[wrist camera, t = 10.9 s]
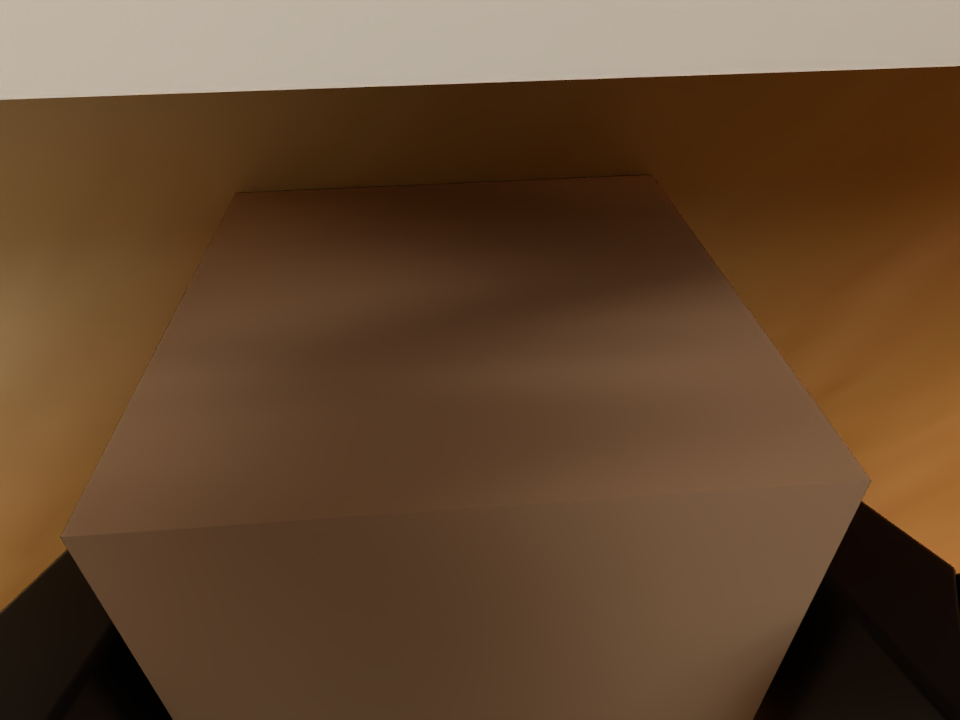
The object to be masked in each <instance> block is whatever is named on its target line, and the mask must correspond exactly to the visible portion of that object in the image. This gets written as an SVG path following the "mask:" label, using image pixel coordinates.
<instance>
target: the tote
mask: <svg viewBox="0 0 960 720" xmlns="http://www.w3.org/2000/svg"><path fill="white" fill-rule="evenodd" d="M949 66H960V0H0V100H9V99H37V98H66V97H94V96H123V95H151V94H180V93H208V92H237V91H265V90H294V89H322V88H351V87H379V86H408V85H436V84H465V83H493V82H522V81H550V80H578V79H607V78H635V77H664V76H692V75H721V74H749V73H778V72H806V71H835V70H863V69H892V68H920V67H949Z"/></svg>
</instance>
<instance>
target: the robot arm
mask: <svg viewBox="0 0 960 720" xmlns="http://www.w3.org/2000/svg"><path fill="white" fill-rule="evenodd" d="M0 720H173V719H172V717H171V716H170V714H169V712H168V711H167V709H166V708H165V706H164V704H163V703H162V701H161V699H160V698H159V696H158V695H157V693H156V691H155V690H154V688H153V687H152V685H151V683H150V682H149V680H148V678H147V677H146V675H145V674H144V672H143V670H142V669H141V667H140V666H139V664H138V662H137V661H136V659H135V657H134V656H133V654H132V653H131V651H130V649H129V648H128V646H127V644H126V643H125V641H124V640H123V638H122V636H121V635H120V633H119V632H118V630H117V628H116V627H115V625H114V623H113V622H112V620H111V619H110V617H109V615H108V614H107V612H106V611H105V609H104V607H103V606H102V604H101V602H100V601H99V599H98V598H97V596H96V594H95V593H94V591H93V590H92V588H91V586H90V585H89V583H88V581H87V580H86V578H85V577H84V575H83V573H82V572H81V570H80V569H79V567H78V565H77V564H76V562H75V560H74V559H73V557H72V556H71V554H70V552H69V551H68V549H67V550H66V551H65V552H64V553H63V554H62V555H60V556H59V557H58V558H57V559H56V560H55V561H54V562H53V563H52V564H51V565H50V566H49V567H48V568H47V569H46V570H44V571H43V572H42V573H41V574H40V575H39V576H38V577H37V578H36V579H35V580H34V581H33V582H32V583H31V584H30V585H28V586H27V587H26V588H25V589H24V590H23V591H22V592H21V593H20V594H19V595H18V596H17V597H16V598H15V599H14V600H12V601H11V602H10V603H9V604H8V605H7V606H6V607H5V608H4V609H3V610H2V611H1V612H0ZM753 720H960V573H958V574H956V571H955V569H954V567H953V566H951V565H950V564H948V563H947V562H946V561H944V560H943V559H941V558H940V557H939V556H937V555H936V554H934V553H933V552H932V551H930V550H929V549H927V548H926V547H925V546H923V545H922V544H920V543H919V542H918V541H916V540H915V539H914V538H912V537H911V536H909V535H908V534H907V533H905V532H904V531H902V530H901V529H900V528H898V527H897V526H895V525H894V524H893V523H891V522H890V521H888V520H887V519H886V518H884V517H883V516H881V515H880V514H879V513H877V512H876V511H875V510H873V509H872V508H870V507H869V506H868V505H866V504H865V503H863V502H862V501H861V502H860V504H859V507H858V509H857V511H856V513H855V515H854V517H853V519H852V521H851V523H850V525H849V527H848V529H847V531H846V533H845V535H844V537H843V539H842V541H841V543H840V545H839V547H838V549H837V551H836V553H835V555H834V557H833V559H832V561H831V563H830V565H829V567H828V569H827V571H826V573H825V575H824V577H823V579H822V581H821V583H820V585H819V587H818V589H817V591H816V593H815V595H814V597H813V599H812V601H811V603H810V605H809V607H808V609H807V611H806V613H805V615H804V617H803V619H802V621H801V623H800V625H799V627H798V629H797V631H796V633H795V635H794V637H793V639H792V641H791V644H790V646H789V648H788V650H787V652H786V654H785V656H784V658H783V660H782V662H781V664H780V666H779V668H778V670H777V672H776V674H775V676H774V678H773V680H772V682H771V684H770V686H769V688H768V690H767V692H766V694H765V696H764V698H763V700H762V702H761V704H760V706H759V708H758V710H757V712H756V714H755V716H754V718H753Z"/></svg>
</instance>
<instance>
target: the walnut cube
mask: <svg viewBox="0 0 960 720" xmlns="http://www.w3.org/2000/svg"><path fill="white" fill-rule="evenodd" d="M870 482H871V479H870V478H869V476H868V475H867V473H866V472H865V471H864V469H863V468H862V467H861V465H860V464H859V462H858V461H857V460H856V458H855V457H854V455H853V454H852V453H851V451H850V450H849V448H848V447H847V446H846V444H845V443H844V442H843V440H842V439H841V437H840V436H839V435H838V433H837V432H836V430H835V429H834V428H833V426H832V425H831V423H830V422H829V421H828V419H827V418H826V417H825V415H824V414H823V412H822V411H821V410H820V408H819V407H818V405H817V404H816V403H815V401H814V400H813V398H812V397H811V396H810V394H809V393H808V392H807V390H806V389H805V387H804V386H803V385H802V383H801V382H800V380H799V379H798V378H797V376H796V375H795V373H794V372H793V371H792V369H791V368H790V367H789V365H788V364H787V362H786V361H785V360H784V358H783V357H782V355H781V354H780V353H779V351H778V350H777V348H776V347H775V346H774V344H773V343H772V342H771V340H770V339H769V337H768V336H767V335H766V333H765V332H764V330H763V329H762V328H761V326H760V325H759V324H758V322H757V321H756V319H755V318H754V317H753V315H752V314H751V312H750V311H749V310H748V308H747V307H746V305H745V304H744V303H743V301H742V300H741V299H740V297H739V296H738V294H737V293H736V292H735V290H734V289H733V287H732V286H731V285H730V283H729V282H728V280H727V279H726V278H725V276H724V275H723V274H722V272H721V271H720V269H719V268H718V267H717V265H716V264H715V262H714V261H713V260H712V258H711V257H710V255H709V254H708V253H707V251H706V250H705V249H704V247H703V246H702V244H701V243H700V242H699V240H698V239H697V237H696V236H695V235H694V233H693V232H692V230H691V229H690V228H689V226H688V225H687V224H686V222H685V221H684V219H683V218H682V217H681V215H680V214H679V212H678V211H677V210H676V208H675V207H674V205H673V204H672V203H671V201H670V200H669V199H668V197H667V196H666V194H665V193H664V192H663V190H662V189H661V187H660V186H659V185H658V183H657V182H656V180H655V179H654V178H653V176H652V175H635V176H612V177H590V178H567V179H544V180H521V181H498V182H476V183H453V184H430V185H407V186H385V187H362V188H339V189H316V190H293V191H271V192H248V193H235V195H234V197H233V199H232V201H231V203H230V205H229V207H228V209H227V211H226V213H225V215H224V217H223V219H222V221H221V223H220V225H219V227H218V229H217V231H216V233H215V234H214V236H213V238H212V240H211V242H210V244H209V246H208V248H207V250H206V252H205V254H204V256H203V258H202V260H201V262H200V264H199V266H198V268H197V270H196V272H195V274H194V276H193V278H192V280H191V282H190V284H189V285H188V287H187V289H186V291H185V293H184V295H183V297H182V299H181V301H180V303H179V305H178V307H177V309H176V311H175V313H174V315H173V317H172V319H171V321H170V323H169V325H168V327H167V329H166V331H165V333H164V335H163V336H162V338H161V340H160V342H159V344H158V346H157V348H156V350H155V352H154V354H153V356H152V358H151V360H150V362H149V364H148V366H147V368H146V370H145V372H144V374H143V376H142V378H141V380H140V382H139V384H138V386H137V387H136V389H135V391H134V393H133V395H132V397H131V399H130V401H129V403H128V405H127V407H126V409H125V411H124V413H123V415H122V417H121V419H120V421H119V423H118V425H117V427H116V429H115V431H114V433H113V435H112V437H111V439H110V440H109V442H108V444H107V446H106V448H105V450H104V452H103V454H102V456H101V458H100V460H99V462H98V464H97V466H96V468H95V470H94V472H93V474H92V476H91V478H90V480H89V482H88V484H87V486H86V488H85V490H84V491H83V493H82V495H81V497H80V499H79V501H78V503H77V505H76V507H75V509H74V511H73V513H72V515H71V517H70V519H69V521H68V523H67V525H66V527H65V529H64V531H63V533H62V535H61V537H60V538H61V539H62V541H63V543H64V544H65V546H66V547H67V549H68V551H69V552H70V554H71V556H72V557H73V559H74V560H75V562H76V564H77V565H78V567H79V569H80V570H81V572H82V573H83V575H84V577H85V578H86V580H87V581H88V583H89V585H90V586H91V588H92V590H93V591H94V593H95V594H96V596H97V598H98V599H99V601H100V602H101V604H102V606H103V607H104V609H105V611H106V612H107V614H108V615H109V617H110V619H111V620H112V622H113V623H114V625H115V627H116V628H117V630H118V632H119V633H120V635H121V636H122V638H123V640H124V641H125V643H126V644H127V646H128V648H129V649H130V651H131V653H132V654H133V656H134V657H135V659H136V661H137V662H138V664H139V666H140V667H141V669H142V670H143V672H144V674H145V675H146V677H147V678H148V680H149V682H150V683H151V685H152V687H153V688H154V690H155V691H156V693H157V695H158V696H159V698H160V699H161V701H162V703H163V704H164V706H165V708H166V709H167V711H168V712H169V714H170V716H171V717H172V719H173V720H753V718H754V716H755V714H756V712H757V710H758V708H759V706H760V704H761V702H762V700H763V698H764V696H765V694H766V692H767V690H768V688H769V686H770V684H771V682H772V680H773V678H774V676H775V674H776V672H777V670H778V668H779V666H780V664H781V662H782V660H783V658H784V656H785V654H786V652H787V650H788V648H789V646H790V644H791V641H792V639H793V637H794V635H795V633H796V631H797V629H798V627H799V625H800V623H801V621H802V619H803V617H804V615H805V613H806V611H807V609H808V607H809V605H810V603H811V601H812V599H813V597H814V595H815V593H816V591H817V589H818V587H819V585H820V583H821V581H822V579H823V577H824V575H825V573H826V571H827V569H828V567H829V565H830V563H831V561H832V559H833V557H834V555H835V553H836V551H837V549H838V547H839V545H840V543H841V541H842V539H843V537H844V535H845V533H846V531H847V529H848V527H849V525H850V523H851V521H852V519H853V517H854V515H855V513H856V511H857V509H858V507H859V504H860V502H861V500H862V498H863V496H864V494H865V492H866V490H867V488H868V486H869V484H870Z"/></svg>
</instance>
